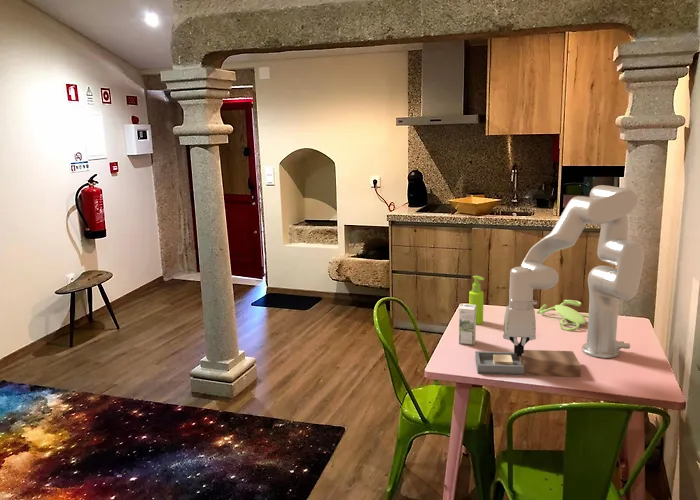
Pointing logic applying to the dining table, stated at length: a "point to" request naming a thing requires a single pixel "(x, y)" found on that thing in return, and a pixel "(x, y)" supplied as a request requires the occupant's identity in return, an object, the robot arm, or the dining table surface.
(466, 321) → the syrup box
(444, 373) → the dining table surface
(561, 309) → the figurine
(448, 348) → the dining table surface
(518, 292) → the robot arm
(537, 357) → the board
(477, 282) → the soap dispenser
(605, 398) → the dining table surface
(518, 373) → the box
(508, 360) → the tile
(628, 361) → the dining table surface
